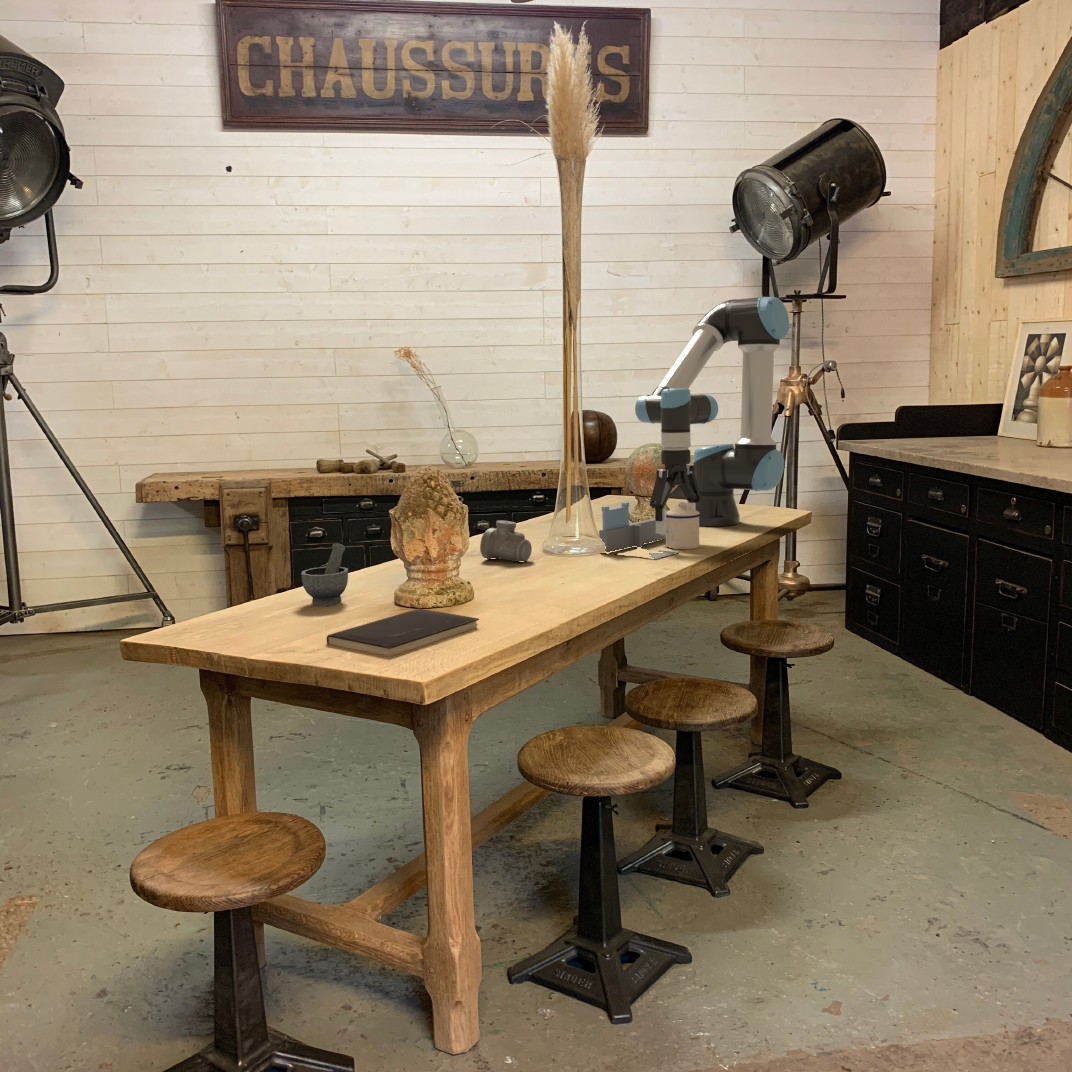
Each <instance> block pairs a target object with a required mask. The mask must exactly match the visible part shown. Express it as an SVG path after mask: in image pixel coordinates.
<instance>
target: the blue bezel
mask: <svg viewBox="0 0 1072 1072" xmlns="http://www.w3.org/2000/svg"><path fill="white" fill-rule="evenodd" d="M629 507H630V502H628V501H627V502H626V501H624V502H621V506H620V507H615V508H610V506H609V505H608V506H607V505H605V506H601V512H602V513H601V514H602V517H601V518H602V530H605V531H606V530H610V529H615V528H619V527H623V526H628V525H629V524H630V520H629V519H630V518H629V517H630V514H629V510H630V508H629Z"/></svg>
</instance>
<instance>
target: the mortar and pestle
mask: <svg viewBox="0 0 1072 1072" xmlns="http://www.w3.org/2000/svg"><path fill="white" fill-rule="evenodd" d="M331 549H332V550H331V553H330V556H329V559H328V561H327V565H326V566H323V567H322V566H321V567H313V568H312V567H311V568H309V569H305V570H302V571H301V573H300V575H301V582H302V587H303V589H304V590H305V592H306V594H307V595H308V596H309V597H311V598H312V600H311V604H312V605H311V606H314V607H318V608H319V607H325V608H326V607H327V608H328V607H332V606H337V605H340V604H342V596H341V595H342V594H343V593H344V592H345V590H346V588H347V586H348V582H349V581H348V580H349V568H348V567H343V566H341V564H342V560H343V559H342V558H343V554H344V552H345V551H346V546H345V545H343V544H341V543H333V544H332V545H331Z"/></svg>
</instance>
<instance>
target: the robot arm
mask: <svg viewBox="0 0 1072 1072" xmlns="http://www.w3.org/2000/svg"><path fill="white" fill-rule="evenodd" d="M789 330H790V319H789V313H788V309H787V308H786V307H785V304H784V302H783V301H782V300H781V299H780V298H778V297H774V296H773V297H772V296H759V297H749V298H739V299H736V298H735V299H729V300H724V301H723V302H721V303H719V304H717V305H716V306H714V307H712V309H709V311H708V312H707V313H705V315H704V316H703V317H702V318H701V319H700V320H699V321H698V322H697V323H696V325H695V326H694V328H693V329H692V332H691V333H692V335H691V336H692V337H691V338H690V339H689V341H688V342H687V343H686V344H685V347H684V348H683V349H682V351H681V352H680V353H679V355H678V356H677V358H676V359H675V361H674V362H673V363H672V364H671V366H670V368H669V369H668V370H667V372H665V375H664V376H663V377H662V378H661V379H660V381H659V383H658V385H656V387H655V389H653V392H652V393H651V394H646V395H641V396H640V397H638V398H637V400H636V402H635V406H634V410H635V411H634V412H635V416H636V417H637V419H638V421H640V422H641V423H646V424H647V423H648V424H661V425H660V426H661V427H660V428H661V429H660V433H661V434H660V439H661V440H660V444H661V445H660V447H661V448H663V449H662V450H661V451H660V459H661V460H660V462H661V464H662V465H664V468H663V469H661V468H660V469H659V468H658V469H656V479H655V481H654V485H653V489H652V493H651V498H650V500H649V507H650V508H651V509H654V513H655V514H654V515H655V516H654V518H655V520H656V533H657V534H666V512H667V508H665V506H666V503H667V501H668V499H669V497H670V495H671V492H672V490H673V489H674V488H675V487H676V486H678V485H679V487H680V489H681V491H682V493H683V495H684V497H685V499H686V500H687V501H686V502H685V503H686V506H688V507H690V508H692V509H693V510H696V511H698V512H699V514H700V516H699V527H700V526H701V527H727V526H734V525H738V524H740V520H741V518H740V513H739V510H738V506H737V502H736V500H735V496H734V490H744V491H745V490H748V491H755V492H761V491H762V492H765V491H770V490H771V491H772V490H773V489H775V488H776V487H777V486H778V484H779V482H780V481H781V479H782V477H783V474H784V469H785V459H784V456H783V455H784V454H783V453H782V451H780V450H778V449H777V442H776V441H775V440H774V439H773V438H772V427H773V425H772V423H773V395H774V394H773V391H774V388H773V387H774V365H775V364H774V363H775V352H776V350H778V349H779V348H780V345H781V344H780V341H781V340H782V339H784V338H785V337H786V336H787V335H788V332H789ZM734 341H735V342H736V341H737V347H738V348H739V350H740V351H741V352H742V370H741V371H742V372H741V373H742V376H741V378H742V381H741V406H740V407H741V410H740V412H741V413H740V414H741V415H740V437H739V439H738V440H736V442H734V443H727V444H726V443H725V444H718V445H710V446H709V445H708V446H703V447H702V446H701V447H697V448H696V449H695V450H694V452H693V461H692V465H689V464H690V463H691V449H689V448H690V447H691V445H692V444H691V425H700V424H703V425H705V424H707V423H711V422H713V421H714V420H715V419H716V417H717V416H718V413H719V405H718V402H717V400H716V399H715V398H714V396H711V395H709V394H704V393H703V394H691V390H690V389H689V388H690V387H691V385H693V383H694V381H695V380H696V378H697V377H698V376H699V374H700V373H701V372H702V370H703V368H704V367H705V365H707V362H709V360H710V358H711V357H712V355H713V354H714V352H717V351H720V350H721V349H722V347H723V345H725V344H726V343H728V342H729V343H730V342H734Z"/></svg>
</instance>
